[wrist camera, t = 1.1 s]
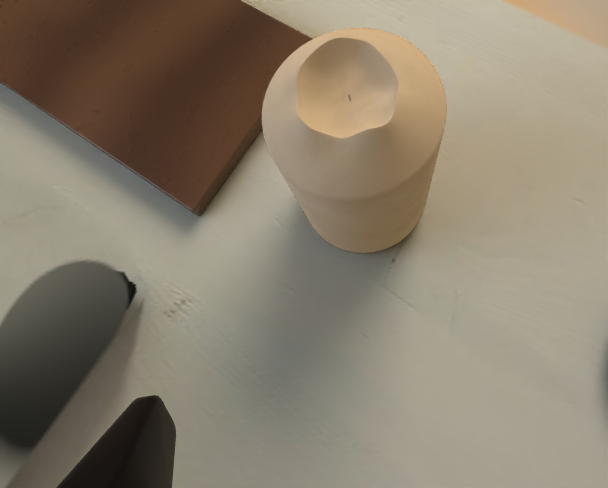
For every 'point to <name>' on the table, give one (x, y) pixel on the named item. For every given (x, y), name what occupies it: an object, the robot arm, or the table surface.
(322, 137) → the candle
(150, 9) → the walnut board
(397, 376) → the table surface
